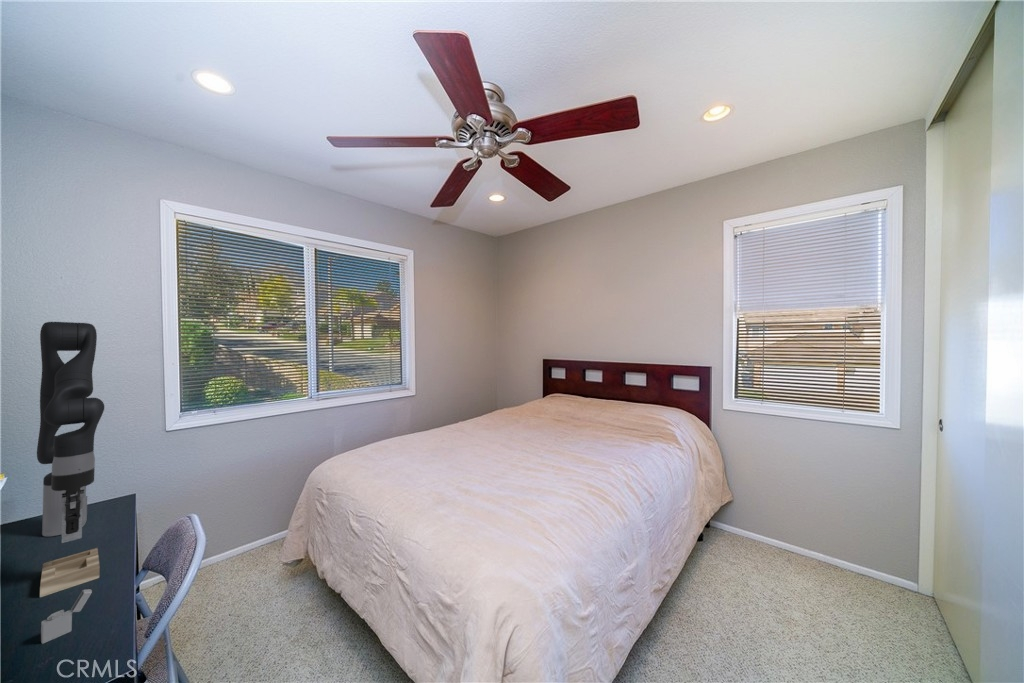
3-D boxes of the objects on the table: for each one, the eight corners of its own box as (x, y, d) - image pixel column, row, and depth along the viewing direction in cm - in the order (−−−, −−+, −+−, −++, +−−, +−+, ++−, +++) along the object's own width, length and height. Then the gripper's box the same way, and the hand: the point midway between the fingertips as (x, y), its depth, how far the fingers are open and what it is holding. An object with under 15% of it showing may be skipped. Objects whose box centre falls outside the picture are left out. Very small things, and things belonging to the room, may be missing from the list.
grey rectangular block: (61, 538, 97) (62, 506, 97) (81, 533, 100) (82, 502, 100) (61, 543, 95) (62, 510, 95) (81, 537, 98) (82, 506, 98)
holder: (42, 573, 99) (43, 563, 99) (97, 557, 107) (97, 547, 107) (39, 597, 90) (40, 586, 90) (99, 577, 98) (99, 567, 98)
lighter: (41, 644, 77) (42, 608, 77) (40, 640, 78) (41, 605, 78) (91, 622, 83) (92, 589, 83) (89, 619, 84) (90, 586, 84)
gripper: (95, 472, 96) (93, 533, 96) (93, 460, 105) (92, 516, 105) (50, 480, 90) (48, 545, 90) (52, 466, 99) (51, 526, 99)
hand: (72, 529), depth 98 cm, fingers closed on grey rectangular block, 3 cm apart
